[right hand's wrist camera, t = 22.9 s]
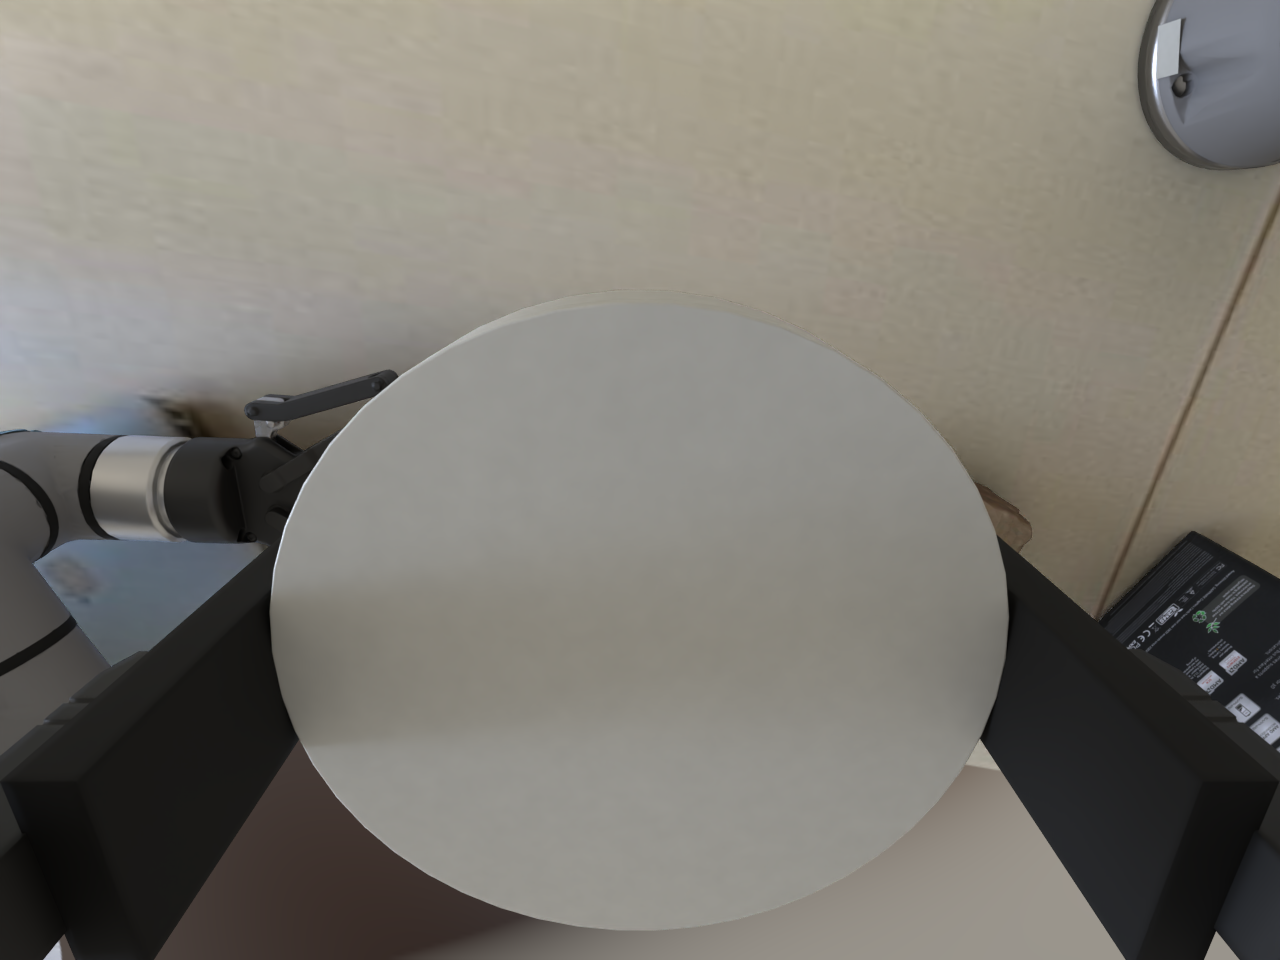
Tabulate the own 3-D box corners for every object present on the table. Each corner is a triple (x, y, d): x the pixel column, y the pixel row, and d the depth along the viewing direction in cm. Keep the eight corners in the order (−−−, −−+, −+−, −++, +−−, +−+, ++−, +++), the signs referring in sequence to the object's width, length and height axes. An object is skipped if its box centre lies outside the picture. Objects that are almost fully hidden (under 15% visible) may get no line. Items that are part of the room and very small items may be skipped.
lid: (274, 767, 13) (223, 843, 12) (394, 176, 9) (344, 167, 8) (799, 902, 14) (819, 987, 13) (1084, 428, 11) (1164, 465, 9)
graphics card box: (1094, 703, 63) (1408, 1030, 37) (1038, 670, 61) (1324, 987, 36) (1239, 561, 58) (1718, 828, 32) (1181, 522, 56) (1633, 768, 31)
